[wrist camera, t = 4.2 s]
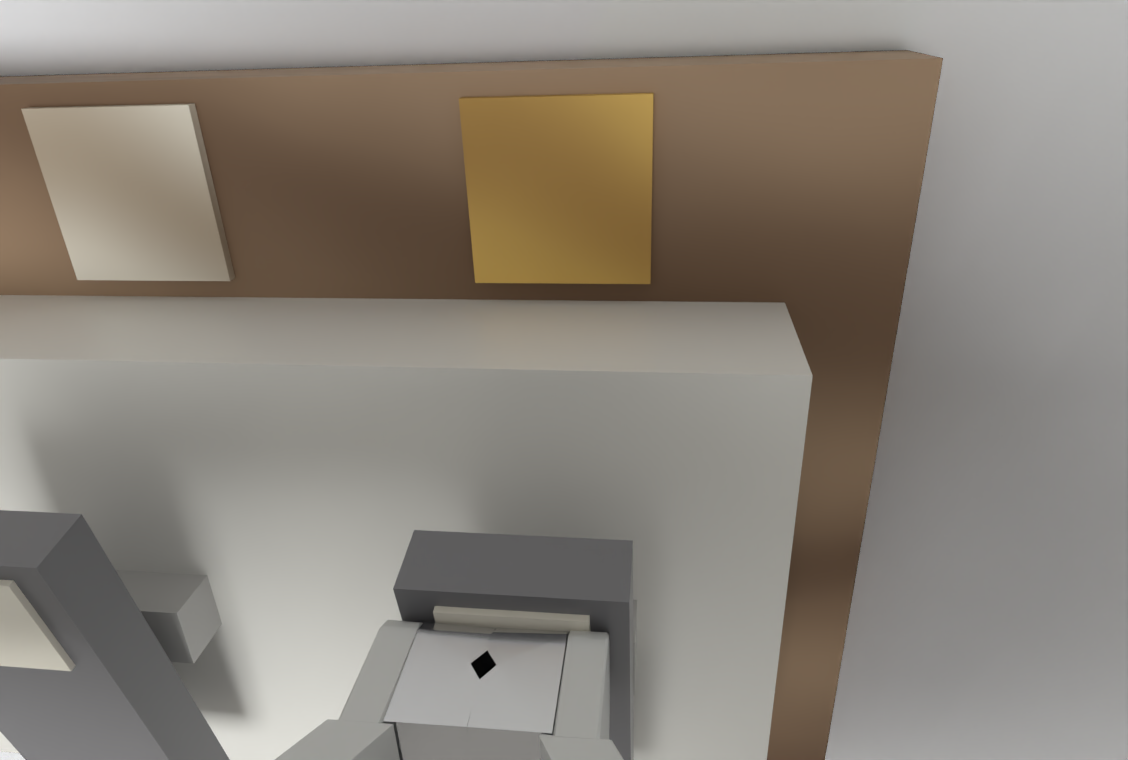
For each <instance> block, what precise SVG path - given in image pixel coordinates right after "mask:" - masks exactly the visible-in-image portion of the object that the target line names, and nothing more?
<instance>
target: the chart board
mask: <svg viewBox="0 0 1128 760" xmlns="http://www.w3.org/2000/svg"><path fill="white" fill-rule="evenodd" d="M942 61H943V58H940V57H935V56H931V55H926V54H922V53H917V52H913V51H908V50H898V51H864V52H829V53H795V54H761V55H727V56H692V57H658V58H624V59H590V60H555V61H521V62H487V63H453V64H418V65H384V66H350V67H316V68H281V69H247V70H213V71H179V72H145V73H110V74H76V75H42V76H8V77H0V295H56V296H159V297H261V298H364V299H467V300H570V301H672V302H775V303H785V304H786V307H787V309H788V312H789V315H790V317H791V320H792V323H793V325H794V328H795V331H796V333H797V336H798V338H799V341H800V344H801V346H802V349H803V352H804V354H805V357H806V360H807V362H808V365H809V367H810V370H811V373H812V375H813V377H812V385H811V394H810V402H809V410H808V419H807V427H806V435H805V444H804V452H803V460H802V469H801V477H800V485H799V494H798V502H797V511H796V519H795V527H794V536H793V544H792V552H791V561H790V569H789V577H788V586H787V594H786V602H785V611H784V619H783V628H782V636H781V644H780V653H779V661H778V669H777V678H776V686H775V694H774V703H773V711H772V719H771V728H770V736H769V745H768V753H767V760H825V755H826V749H827V743H828V737H829V731H830V725H831V719H832V713H833V707H834V702H835V696H836V690H837V684H838V678H839V672H840V666H841V660H842V654H843V648H844V642H845V636H846V630H847V624H848V618H849V613H850V607H851V601H852V595H853V589H854V583H855V577H856V571H857V565H858V559H859V553H860V547H861V541H862V535H863V529H864V524H865V518H866V512H867V506H868V500H869V494H870V488H871V482H872V476H873V470H874V464H875V458H876V452H877V446H878V440H879V435H880V429H881V423H882V417H883V411H884V405H885V399H886V393H887V387H888V381H889V375H890V369H891V363H892V357H893V352H894V346H895V340H896V334H897V328H898V322H899V316H900V310H901V304H902V298H903V292H904V286H905V280H906V274H907V268H908V263H909V257H910V251H911V245H912V239H913V233H914V227H915V221H916V215H917V209H918V203H919V197H920V191H921V185H922V179H923V174H924V168H925V162H926V156H927V150H928V144H929V138H930V132H931V126H932V120H933V114H934V108H935V102H936V96H937V90H938V85H939V79H940V73H941V67H942Z"/></svg>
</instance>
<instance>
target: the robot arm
mask: <svg viewBox="0 0 1128 760" xmlns="http://www.w3.org/2000/svg"><path fill="white" fill-rule="evenodd" d="M609 724H610V641H609V634H608V633H607V632H590V631H570V632H569V631H554V630H536V629H518V628H499V627H497V628H492V627H480V626H468V625H456V624H443V623H431V622H424V623H421V622H409V621H398V620H387V621H386V622H385V623H384V624H383V625H382V626H381V627H380V628H379V630H378V632H377V635H376V637H375V639H374V641H373V644H372V646H371V648H370V650H369V652H368V655H367V657H366V659H365V661H364V664H363V666H362V668H361V670H360V673H359V675H358V677H357V679H356V681H355V684H354V686H353V688H352V690H351V693H350V695H349V697H348V699H347V701H346V704H345V706H344V708H343V710H342V713H341V715H340V717H339V719H338V720H333V719H327V720H325V721H324V722H323V723H322V724H320V725H319V726H318V727H316V728H315V729H314V730H312V731H311V732H310V733H309V734H307V735H306V736H305V737H303V738H302V739H301V740H299V741H298V742H297V743H296V744H294V745H293V746H292V747H290V748H289V749H288V750H286V751H285V752H284V753H283V754H281V755H280V756H279V757H277V758H276V759H275V760H624V759H623V758H622V756H621V755H620V753H619V751H618V750H617V748H616V746H615V745H614V743H613V741H612V740H609Z"/></svg>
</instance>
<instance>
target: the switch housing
mask: <svg viewBox="0 0 1128 760" xmlns="http://www.w3.org/2000/svg"><path fill="white" fill-rule="evenodd" d="M812 377H813V375H812V373H811V370H810V367H809V365H808V362H807V360H806V357H805V354H804V352H803V349H802V346H801V344H800V341H799V338H798V336H797V333H796V331H795V328H794V325H793V323H792V320H791V317H790V315H789V312H788V309H787V307H786V304H785V303H775V302H672V301H570V300H467V299H364V298H261V297H159V296H56V295H0V510H9V511H30V512H50V513H71V514H82V515H83V517H84V519H85V520H86V522H87V524H88V525H89V527H90V529H91V530H92V532H93V533H94V535H95V537H96V538H97V540H98V542H99V543H100V545H101V547H102V548H103V550H104V552H105V553H106V555H107V557H108V558H109V560H110V562H111V563H112V565H113V567H114V568H115V570H116V572H117V573H118V575H119V577H120V578H121V580H122V582H123V583H124V585H125V587H126V588H127V590H128V592H129V593H130V595H131V597H132V598H133V600H134V602H135V603H136V605H137V607H138V608H139V610H140V612H141V613H142V615H143V617H144V618H145V620H146V622H147V623H148V625H149V627H150V628H151V630H152V631H153V633H154V635H155V636H156V638H157V640H158V641H159V643H160V645H161V646H162V648H163V650H164V651H165V653H166V655H167V656H168V658H169V660H170V661H171V663H172V665H173V666H174V668H175V670H176V671H177V673H178V675H179V676H180V678H181V680H182V681H183V683H184V685H185V686H186V688H187V690H188V691H189V693H190V695H191V696H192V698H193V700H194V701H195V703H196V705H197V706H198V708H199V710H200V711H201V713H202V715H203V716H204V718H205V720H206V721H207V723H208V724H209V726H210V728H211V729H212V731H213V733H214V734H215V736H216V738H217V739H218V741H219V743H220V744H221V746H222V748H223V749H224V751H225V753H226V754H227V756H228V758H229V759H230V760H275V759H276V758H277V757H279V756H280V755H281V754H283V753H284V752H285V751H286V750H288V749H289V748H290V747H292V746H293V745H294V744H296V743H297V742H298V741H299V740H301V739H302V738H303V737H305V736H306V735H307V734H309V733H310V732H311V731H312V730H314V729H315V728H316V727H318V726H319V725H320V724H322V723H323V722H324V721H325V720H327V719H333V720H338V719H339V717H340V715H341V713H342V710H343V708H344V706H345V704H346V701H347V699H348V697H349V695H350V693H351V690H352V688H353V686H354V684H355V681H356V679H357V677H358V675H359V673H360V670H361V668H362V666H363V664H364V661H365V659H366V657H367V655H368V652H369V650H370V648H371V646H372V644H373V641H374V639H375V637H376V635H377V632H378V630H379V628H380V627H381V626H382V625H383V624H384V623H385V622H386V621H387V620H398V621H402V618H401V615H400V611H399V608H398V604H397V601H396V597H395V594H394V590H393V587H394V585H395V582H396V579H397V576H398V573H399V571H400V568H401V565H402V562H403V560H404V557H405V554H406V551H407V548H408V546H409V543H410V540H411V537H412V535H413V532H414V530H425V531H446V532H467V533H487V534H508V535H529V536H550V537H571V538H591V539H612V540H633V709H634V760H767V753H768V745H769V736H770V728H771V719H772V711H773V703H774V694H775V686H776V678H777V669H778V661H779V653H780V644H781V636H782V628H783V619H784V611H785V602H786V594H787V586H788V577H789V569H790V561H791V552H792V544H793V536H794V527H795V519H796V511H797V502H798V494H799V485H800V477H801V469H802V460H803V452H804V444H805V435H806V427H807V419H808V410H809V402H810V394H811V385H812ZM0 752H10V753H19V752H18V751H17V750H16V748H15V747H14V746H13V745H12V744H11V743H10V742H9V741H8V740H7V738H6V737H5V736H4V735H3V734H2V733H1V732H0Z"/></svg>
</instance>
